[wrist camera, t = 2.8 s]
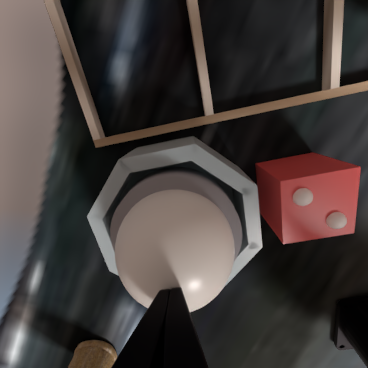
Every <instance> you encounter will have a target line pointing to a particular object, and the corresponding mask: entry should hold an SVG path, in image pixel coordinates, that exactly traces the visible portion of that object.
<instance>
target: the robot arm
mask: <svg viewBox="0 0 368 368" xmlns="http://www.w3.org/2000/svg"><path fill="white" fill-rule="evenodd" d="M334 344H335V346H336V348H337V349H338V350H346V349H354V350H355V351H356V352H357V354H358V355H359V357H360V358H361V359H362V361H363V362H364V364H365V365H366V366H367V368H368V296H365V297H357V298H349V299H342V300H340V301H338V302H337V309H336V323H335V336H334ZM111 368H208V365H207V362H206V359H205V356H204V353H203V350H202V347H201V344H200V341H199V338H198V335H197V332H196V329H195V326H194V323H193V320H192V317H191V314H190V311H189V308H188V305H187V303H186V300H185V297H184V294H183V291H182V288H181V287H176V288H171V290H170V289H162V290H160V291H159V292H158V293H157V295H156V296H155V298H154V300H153V301H152V303H151V304H150V306H149V308H148V309H147V311H146V312H145V314H144V316H143V317H142V319H141V320H140V322H139V324H138V325H137V327H136V328H135V330H134V332H133V333H132V335H131V336H130V338H129V340H128V341H127V343H126V344H125V346H124V348H123V349H122V351H121V352H120V354H119V356H118V357H117V359H116V360H115V362H114V364H113V365H112V367H111Z"/></svg>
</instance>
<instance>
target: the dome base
mask: <svg viewBox="0 0 368 368" xmlns="http://www.w3.org/2000/svg"><path fill="white" fill-rule="evenodd" d="M168 167H186V168H191V169H195V170H198V171H200V172H203V173H205V174H207V175H209V176H210V177H212V178H213V179H214V180H216V181H217V182H218V183H219V184H220V185H221V186H222V187H223V188H224V190H225V191H226V192H227V194H228V196H229V198H230V200H231V202H232V204H233V206H234V208H235V210H236V212H237V214H238V216H239V219H240V221H241V226H242V244H241V248H240V251H239V253H238V256H237V258H236V259H235V261H234V263H233V267H232V271H231V273H230V276H229V278H228V281H227V282H226V284H225V286H226V285H227V284H228V283H229V281H230V280H231V279H232V278H233V277H234V276H235V275H236V274H237V273H238V272H239V271H240V270H241V269H242V268H243V267H244V266H245V265H246V264H247V263H248V262H249V261H250V260H251V259H252V258H253V257H254V256H255V255H256V254H257V252H258V251H259V250H260V249H261V248H262V235H261V224H260V214H261V215H262V216H263V218H264V219H265V221H266V222H267V223H268V225H269V226H270V227H271V229H272V230H273V231H274V233H275V234H276V235H277V237H278V238H279V239H280V241H281V242H282V243H283V244H288V243H294V242H301V241H307V240H313V239H320V238H326V237H333V236H339V235H346V234H352V233H354V231H355V221H356V211H357V200H358V190H359V180H360V170H361V167H360V166H357V165H353V164H350V163H347V162H343V161H340V160H337V159H333V158H330V157H327V156H323V155H320V154H317V153H313V152H312V153H307V154H302V155H297V156H291V157H286V158H281V159H276V160H270V161H265V162H260V163H255V167H256V178H257V185H256V184H255V183H254V182H253V181H252V180H251V179H250V178H249V177H248V176H247V175H246V174H245V173H244V172H243V171H242V170H241V169H240V168H239V167H238V166H237V165H235V164H234V163H232V162H231V161H229V160H228V159H226V158H225V157H223V156H222V155H220V154H219V153H218V152H216V151H215V150H213V149H212V148H210V147H209V146H207V145H206V144H204V143H203V142H201V141H200V140H199V139H197V138H196V137H194V136H189V137H184V138H179V139H175V140H170V141H165V142H160V143H155V144H151V145H146V146H141V147H137V148H135V149H134V150H132V151H131V152H129V153H128V154H126V155H125V156H123V157H122V158H120V159H118V162H117V163H116V165H115V167H114V169H113V171H112V172H111V174H110V176H109V178H108V180H107V181H106V183H105V185H104V187H103V189H102V190H101V192H100V194H99V196H98V198H97V200H96V201H95V203H94V205H93V207H92V209H91V210H90V212H89V214H88V216H87V218H88V220H89V223H90V225H91V228H92V230H93V232H94V235H95V237H96V240H97V242H98V244H99V247H100V249H101V252H102V254H103V256H104V259H105V261H106V264H107V266H108V268H109V271H110V272H112V273H114V274H116V275H118V276H119V274H118V271H117V267H116V261H115V252H114V250H113V247H112V243H111V237H110V227H111V221H112V218H113V215H114V212H115V210H116V208H117V206H118V205H119V204H120V202H121V201H122V200H123V198H124V197H125V196H126V194H127V193H128V192H129V190H130V189H131V188H132V186H133V185H134V184H135V183H136V182H137V181H138V180H140V179H141V178H142V177H144V176H145V175H147V174H149V173H151V172H153V171H156V170H159V169H163V168H168ZM225 286H224V287H225ZM224 287H223V288H224Z"/></svg>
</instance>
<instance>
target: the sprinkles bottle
mask: <svg viewBox="0 0 368 368" xmlns="http://www.w3.org/2000/svg"><path fill="white" fill-rule="evenodd" d="M116 359H117V354H116V351H115V349H114V348H113V347H112V346H111V345H110V344H108V343H106V342H104V341H100V340H87V341H84V342H81V343H80V344H79V345H78V346H77V348H76V349H75V352H74V357H73V359H72V361H71V363H70V365H69V367H68V368H111V367H112V365H113V364H114V362H115V360H116Z"/></svg>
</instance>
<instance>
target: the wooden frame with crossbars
mask: <svg viewBox="0 0 368 368" xmlns="http://www.w3.org/2000/svg"><path fill="white" fill-rule="evenodd" d="M186 1H187V8H188V14H189V20H190V26H191V33H192V39H193V45H194V51H195V58H196V64H197V70H198V76H199V82H200V89H201V95H202V101H203V107H204V114H205V116H202V117H198V118H193V119H188V120H184V121H179V122H174V123H170V124H165V125H161V126H156V127H151V128H147V129H142V130H137V131H133V132H128V133H123V134H119V135H114V136H110V137H105V135H104V132H103V129H102V126H101V123H100V120H99V117H98V114H97V111H96V108H95V105H94V102H93V99H92V96H91V93H90V90H89V87H88V84H87V81H86V78H85V75H84V72H83V69H82V66H81V63H80V60H79V57H78V54H77V51H76V48H75V45H74V42H73V39H72V36H71V33H70V30H69V27H68V24H67V21H66V18H65V15H64V12H63V9H62V6H61V3H60V0H44V3H45V5H46V8H47V11H48V14H49V16H50V20H51V22H52V25H53V28H54V31H55V34H56V36H57V39H58V42H59V45H60V48H61V51H62V53H63V56H64V59H65V62H66V65H67V68H68V70H69V73H70V76H71V79H72V82H73V85H74V87H75V90H76V93H77V96H78V99H79V101H80V104H81V107H82V110H83V113H84V116H85V118H86V121H87V124H88V127H89V130H90V133H91V135H92V138H93V141H94V144H95V147H96V148H97V147H102V146H107V145H111V144H116V143H121V142H126V141H130V140H135V139H140V138H144V137H149V136H154V135H159V134H163V133H168V132H173V131H177V130H182V129H187V128H192V127H196V126H201V125H206V124H210V123H215V122H220V121H225V120H229V119H234V118H239V117H243V116H248V115H253V114H258V113H262V112H267V111H272V110H276V109H281V108H286V107H291V106H295V105H300V104H305V103H310V102H314V101H319V100H324V99H328V98H333V97H338V96H343V95H347V94H352V93H357V92H361V91H366V90H368V81H365V82H360V83H355V84H351V85H346V86H341V87H339V85H340V67H341V48H342V30H343V11H344V0H324V29H323V66H322V91H318V92H314V93H309V94H304V95H300V96H295V97H290V98H286V99H281V100H276V101H272V102H267V103H263V104H258V105H253V106H249V107H244V108H239V109H235V110H230V111H225V112H221V113H216V114H214V112H213V105H212V98H211V91H210V84H209V77H208V70H207V64H206V57H205V50H204V43H203V36H202V29H201V22H200V15H199V9H198V2H197V0H186Z"/></svg>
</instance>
